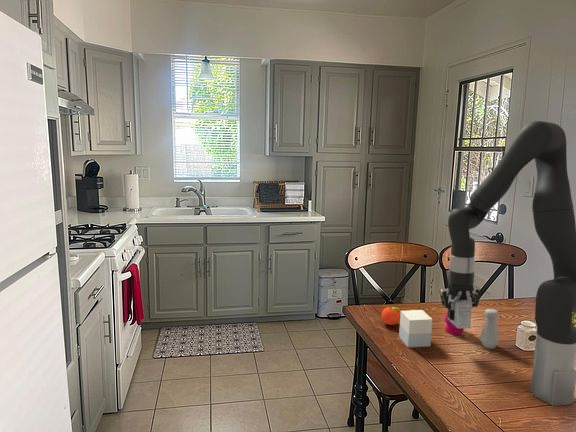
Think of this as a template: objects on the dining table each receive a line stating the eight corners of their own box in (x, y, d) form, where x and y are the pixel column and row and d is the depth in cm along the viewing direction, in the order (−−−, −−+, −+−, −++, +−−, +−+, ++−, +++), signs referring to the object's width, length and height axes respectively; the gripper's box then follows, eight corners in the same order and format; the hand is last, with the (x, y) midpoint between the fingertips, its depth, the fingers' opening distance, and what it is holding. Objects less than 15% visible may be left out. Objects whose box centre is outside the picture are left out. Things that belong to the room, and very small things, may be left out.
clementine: (399, 320, 159) (400, 303, 158) (404, 328, 152) (405, 310, 151) (379, 320, 159) (379, 303, 157) (383, 328, 152) (384, 310, 151)
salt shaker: (500, 350, 135) (504, 314, 133) (482, 349, 136) (485, 312, 134) (495, 342, 141) (498, 307, 139) (477, 341, 142) (480, 306, 140)
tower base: (430, 346, 138) (431, 333, 138) (407, 347, 138) (408, 334, 137) (420, 336, 146) (421, 323, 145) (399, 337, 145) (399, 324, 145)
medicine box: (470, 328, 129) (472, 302, 128) (456, 328, 129) (458, 302, 128) (460, 319, 137) (461, 294, 136) (447, 319, 137) (448, 294, 136)
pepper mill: (440, 331, 150) (444, 279, 146) (448, 325, 155) (452, 275, 151) (460, 337, 145) (464, 284, 141) (467, 330, 150) (472, 279, 147)
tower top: (431, 333, 138) (432, 319, 137) (408, 334, 137) (409, 320, 136) (421, 323, 145) (422, 309, 145) (399, 324, 145) (400, 310, 144)
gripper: (446, 273, 126) (444, 325, 128) (489, 271, 128) (486, 322, 130) (435, 266, 133) (433, 316, 136) (475, 265, 135) (472, 313, 137)
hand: (459, 319), depth 133 cm, fingers closed on medicine box, 4 cm apart
